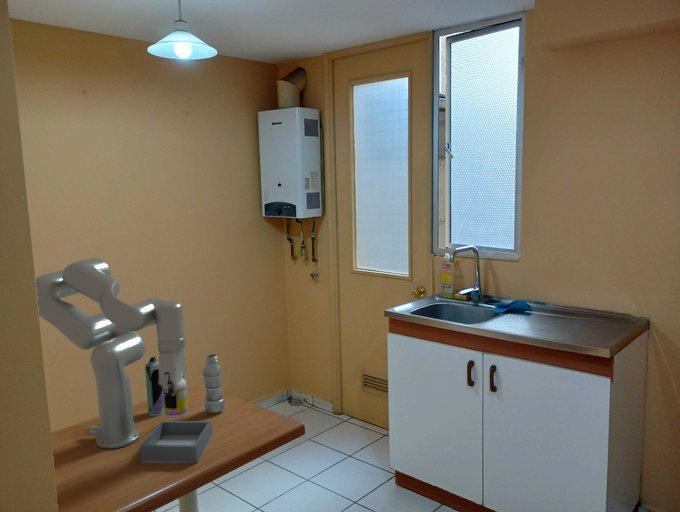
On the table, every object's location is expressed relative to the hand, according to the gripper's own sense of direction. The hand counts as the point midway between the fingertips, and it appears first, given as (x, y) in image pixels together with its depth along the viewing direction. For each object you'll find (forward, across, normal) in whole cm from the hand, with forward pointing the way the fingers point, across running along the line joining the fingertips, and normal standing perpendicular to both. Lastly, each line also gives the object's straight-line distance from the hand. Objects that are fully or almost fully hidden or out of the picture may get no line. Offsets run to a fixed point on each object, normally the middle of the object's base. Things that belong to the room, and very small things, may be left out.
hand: (175, 402), depth 163 cm
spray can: (+15, -25, -16) cm, 33 cm away
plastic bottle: (+15, -26, +4) cm, 30 cm away
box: (+15, 0, 0) cm, 15 cm away
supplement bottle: (+4, 0, 0) cm, 4 cm away
